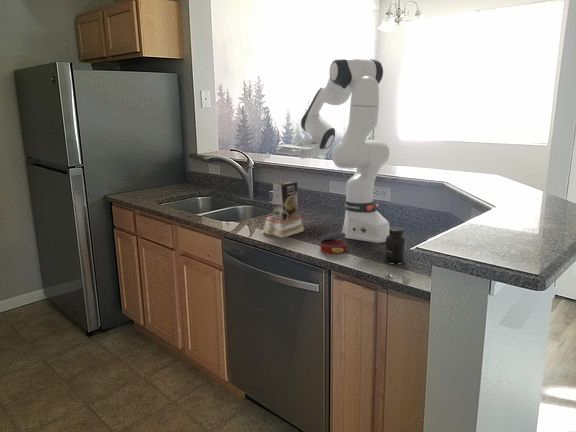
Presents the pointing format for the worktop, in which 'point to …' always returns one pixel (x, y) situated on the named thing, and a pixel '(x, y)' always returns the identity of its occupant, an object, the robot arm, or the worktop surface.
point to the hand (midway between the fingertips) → (285, 151)
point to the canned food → (333, 243)
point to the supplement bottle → (395, 246)
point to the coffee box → (284, 200)
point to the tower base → (283, 232)
